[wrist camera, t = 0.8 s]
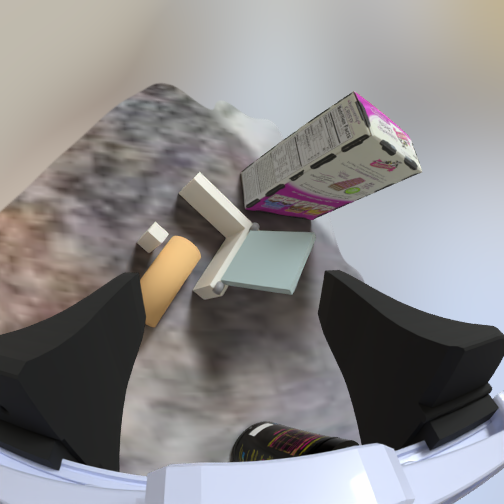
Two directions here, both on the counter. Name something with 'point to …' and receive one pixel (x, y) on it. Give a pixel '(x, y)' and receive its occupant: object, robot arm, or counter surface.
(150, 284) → the tan cylinder roller
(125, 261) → the counter surface
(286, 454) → the supplement container
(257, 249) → the cover flap
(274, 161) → the candy bar box
